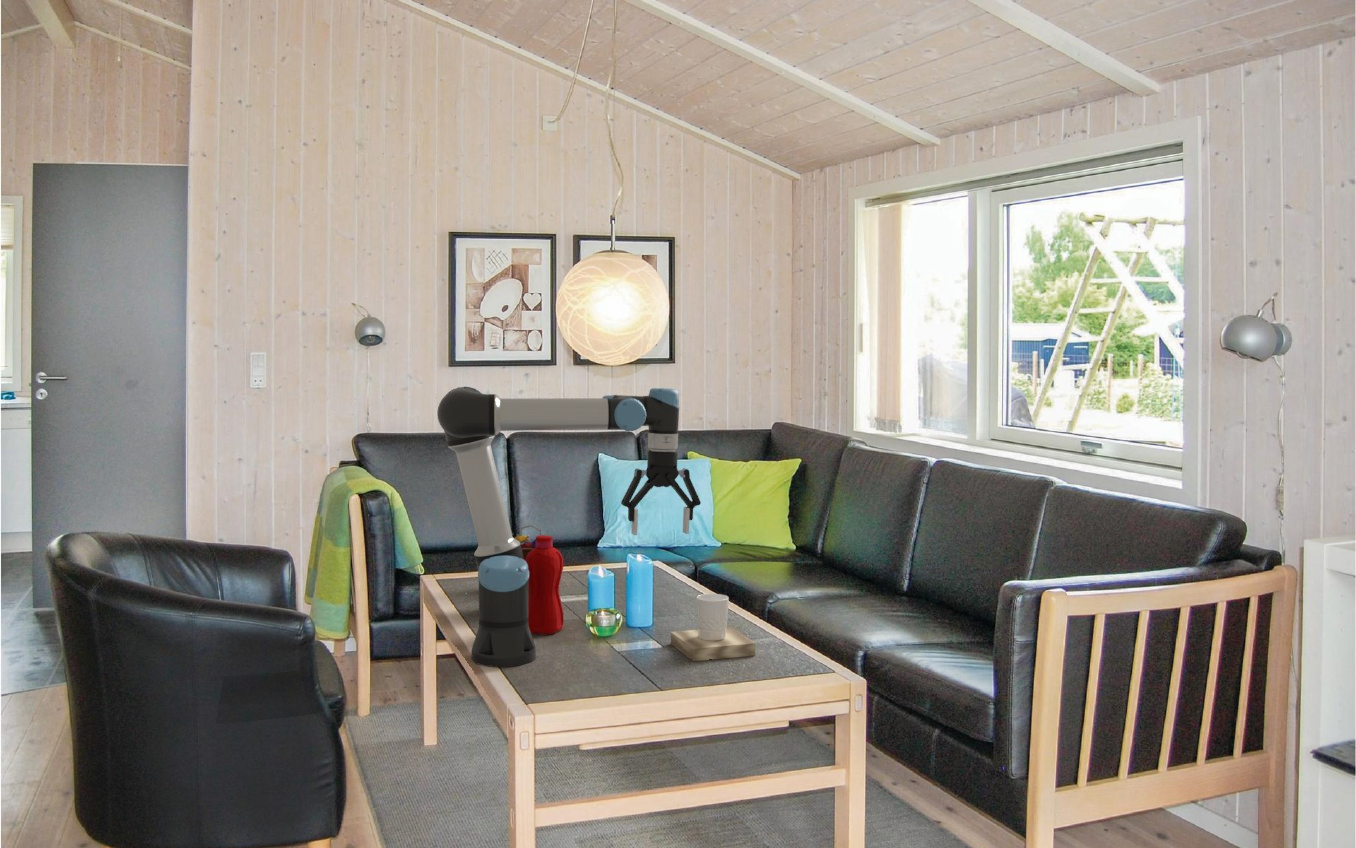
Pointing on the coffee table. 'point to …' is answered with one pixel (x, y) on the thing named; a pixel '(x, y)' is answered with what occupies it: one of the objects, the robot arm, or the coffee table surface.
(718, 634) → the white cup
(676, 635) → the wooden base
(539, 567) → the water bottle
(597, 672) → the coffee table surface
